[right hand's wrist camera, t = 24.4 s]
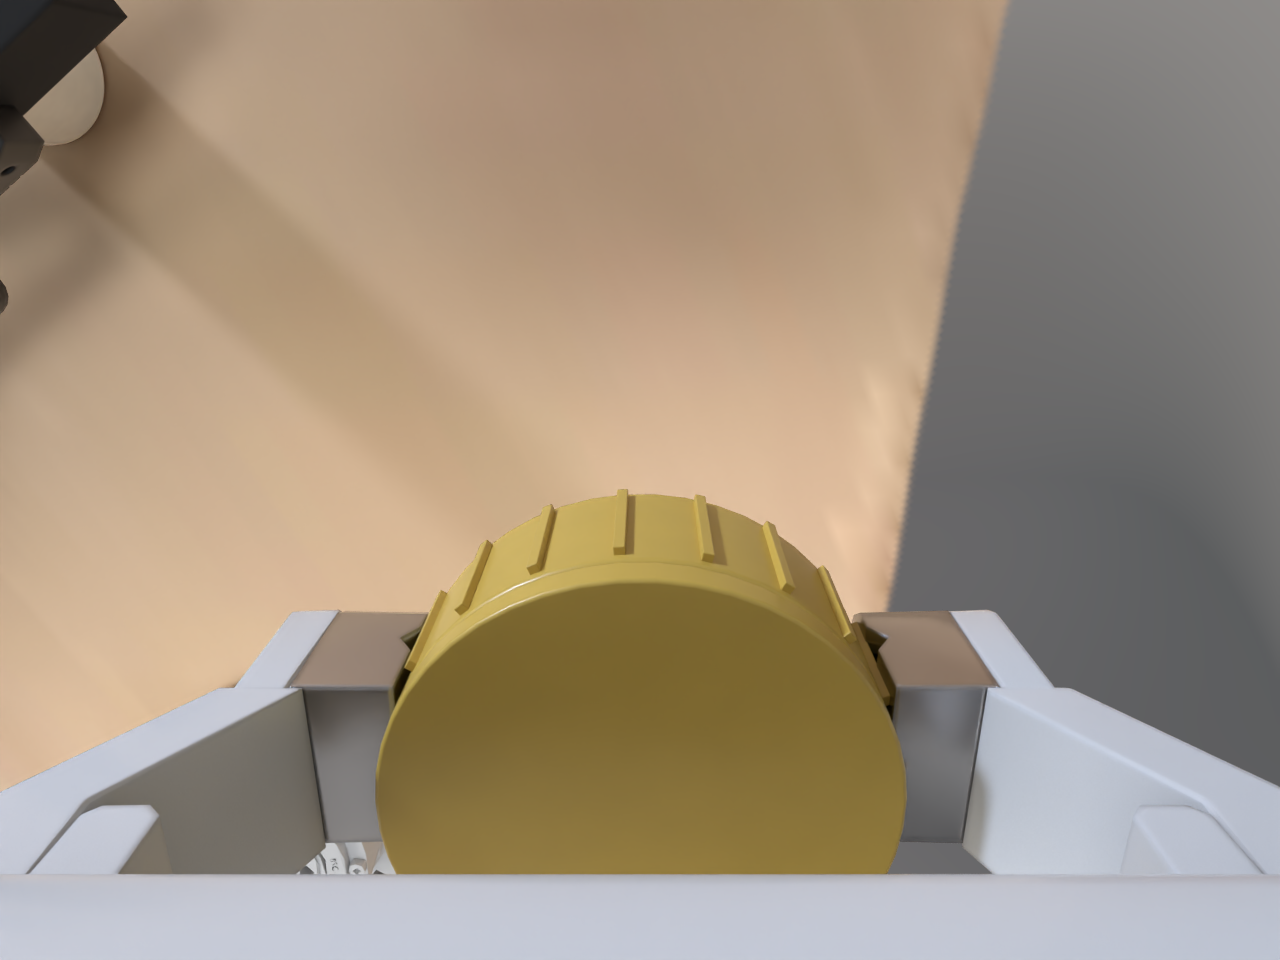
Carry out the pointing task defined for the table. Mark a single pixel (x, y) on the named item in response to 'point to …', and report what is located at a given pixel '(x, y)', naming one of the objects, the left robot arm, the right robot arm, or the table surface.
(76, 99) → the white cylinder
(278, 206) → the table surface
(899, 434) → the table surface
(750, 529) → the lid
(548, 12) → the table surface
